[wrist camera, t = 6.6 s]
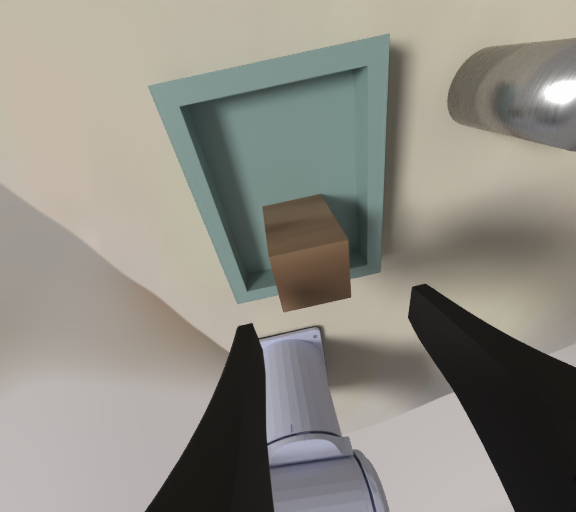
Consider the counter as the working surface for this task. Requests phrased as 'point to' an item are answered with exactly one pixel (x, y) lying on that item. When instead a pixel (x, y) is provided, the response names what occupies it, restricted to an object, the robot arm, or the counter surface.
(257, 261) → the parts tray
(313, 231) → the walnut block
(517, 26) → the counter surface
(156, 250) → the counter surface
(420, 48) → the counter surface
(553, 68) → the grey peg
